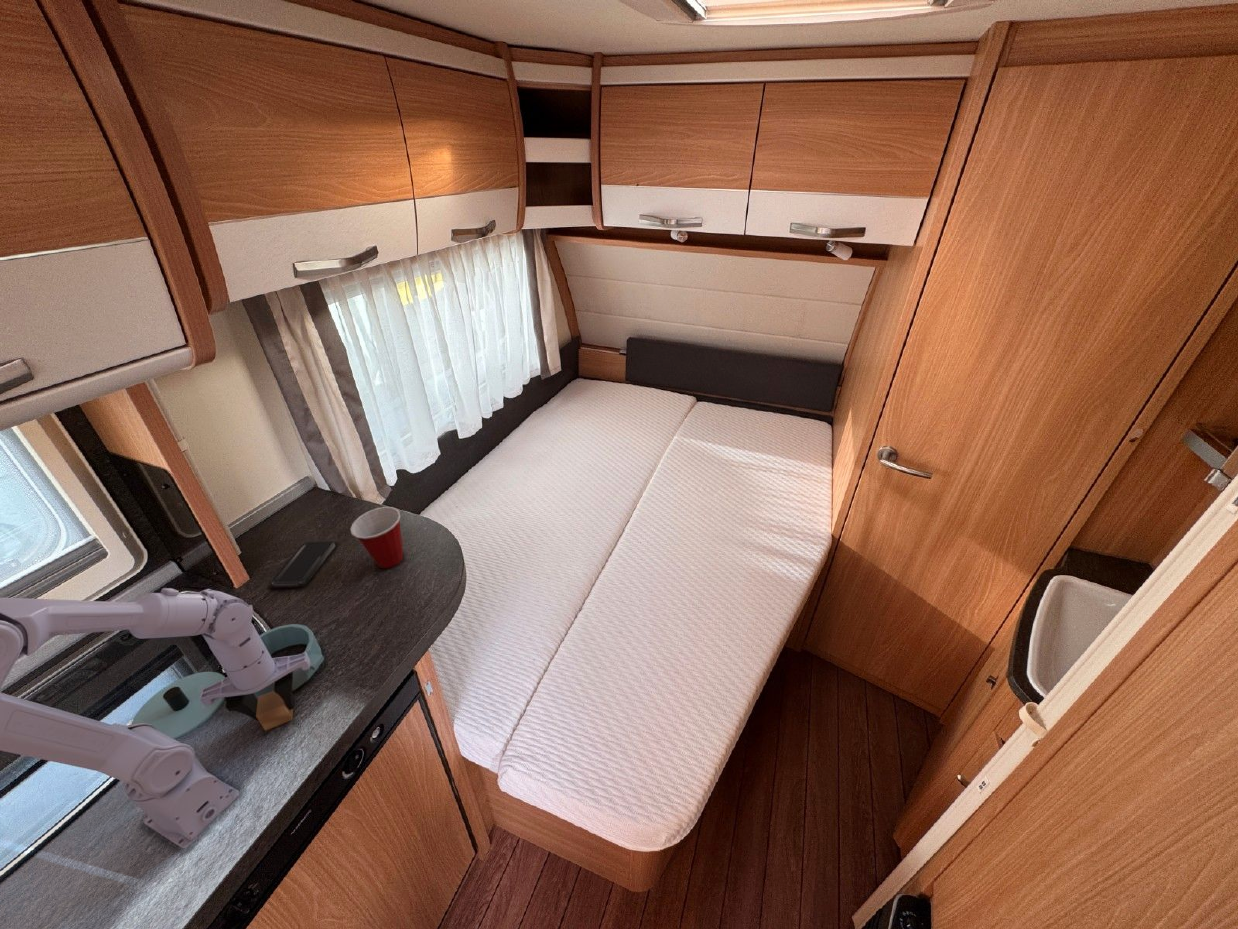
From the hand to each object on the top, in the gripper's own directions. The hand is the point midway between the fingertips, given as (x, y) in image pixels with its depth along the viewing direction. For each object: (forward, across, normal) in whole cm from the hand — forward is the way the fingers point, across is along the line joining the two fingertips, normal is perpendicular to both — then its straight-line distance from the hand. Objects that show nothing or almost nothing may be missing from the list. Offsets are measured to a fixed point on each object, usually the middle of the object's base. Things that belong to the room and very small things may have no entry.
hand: (276, 710), depth 86 cm
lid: (+2, +16, -10) cm, 19 cm away
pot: (+2, 0, -11) cm, 11 cm away
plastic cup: (+2, -21, -34) cm, 40 cm away
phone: (+2, -3, -42) cm, 43 cm away
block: (+1, 0, 0) cm, 1 cm away
